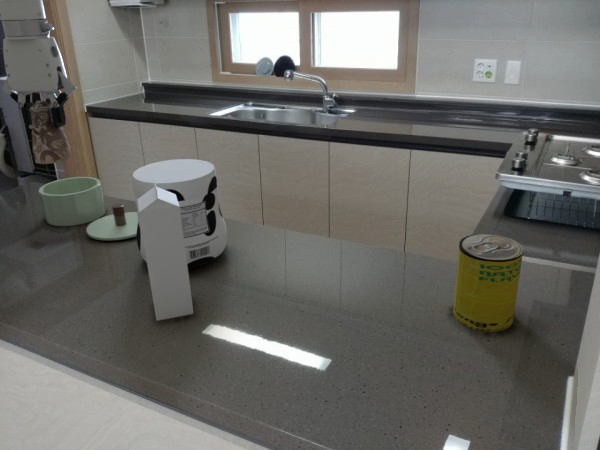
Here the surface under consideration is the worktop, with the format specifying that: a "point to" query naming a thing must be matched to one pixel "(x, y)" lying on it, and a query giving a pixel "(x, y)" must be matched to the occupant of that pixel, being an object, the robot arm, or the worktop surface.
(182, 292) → the milk
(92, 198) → the bowl
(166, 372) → the worktop surface
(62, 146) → the figurine
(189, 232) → the milk container
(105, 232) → the bowl lid
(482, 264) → the beverage can
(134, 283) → the worktop surface
